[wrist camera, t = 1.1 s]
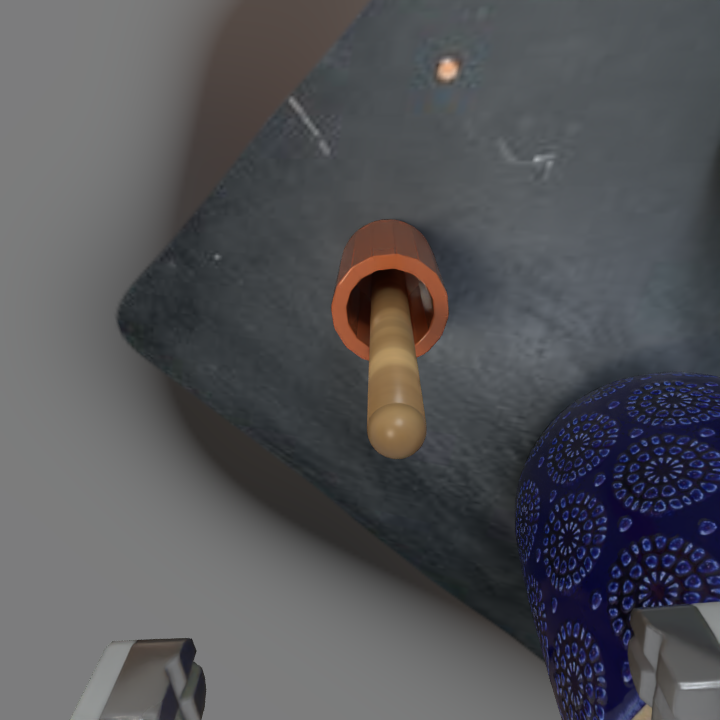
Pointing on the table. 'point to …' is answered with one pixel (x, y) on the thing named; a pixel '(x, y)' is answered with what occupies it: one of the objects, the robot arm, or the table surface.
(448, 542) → the table surface
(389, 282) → the stick
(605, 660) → the planter
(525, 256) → the table surface
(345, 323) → the crock
